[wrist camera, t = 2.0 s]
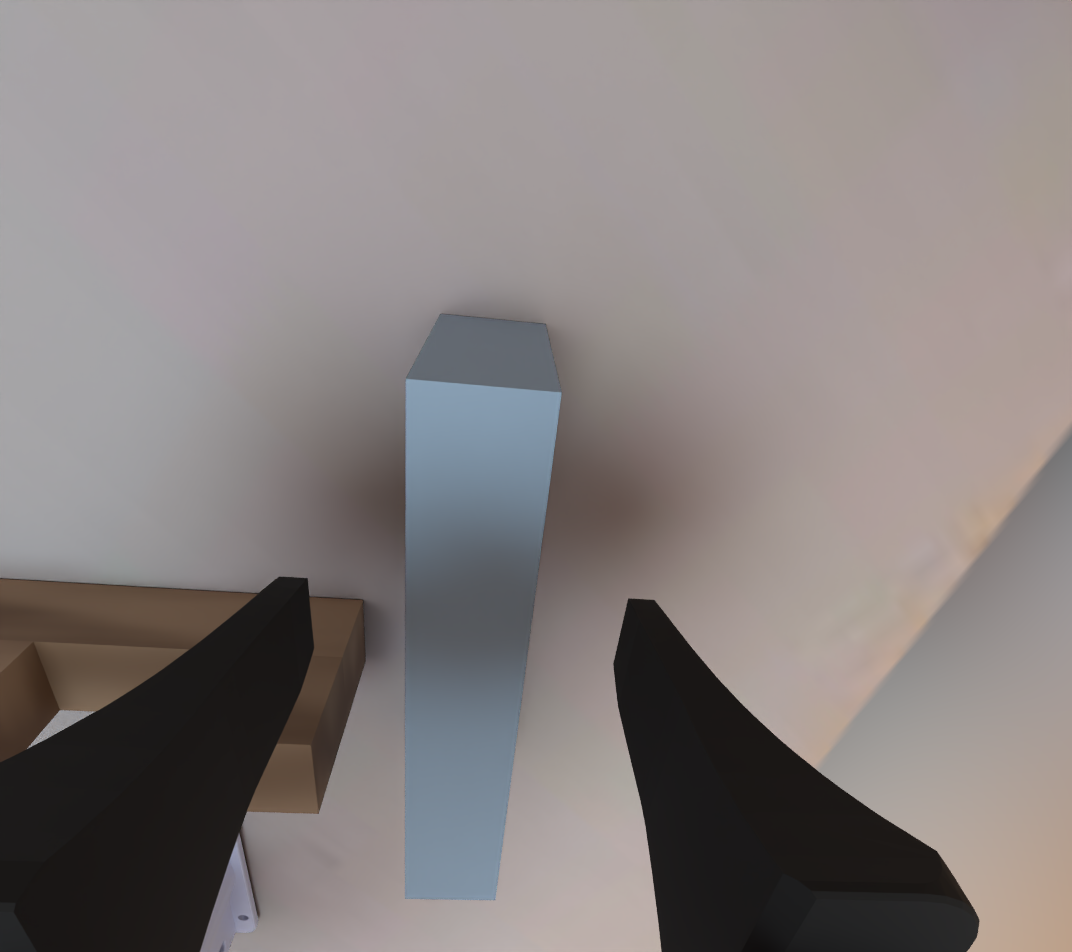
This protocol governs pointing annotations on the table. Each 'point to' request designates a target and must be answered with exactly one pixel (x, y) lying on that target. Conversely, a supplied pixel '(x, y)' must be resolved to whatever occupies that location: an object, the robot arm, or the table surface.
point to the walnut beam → (148, 647)
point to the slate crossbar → (470, 587)
